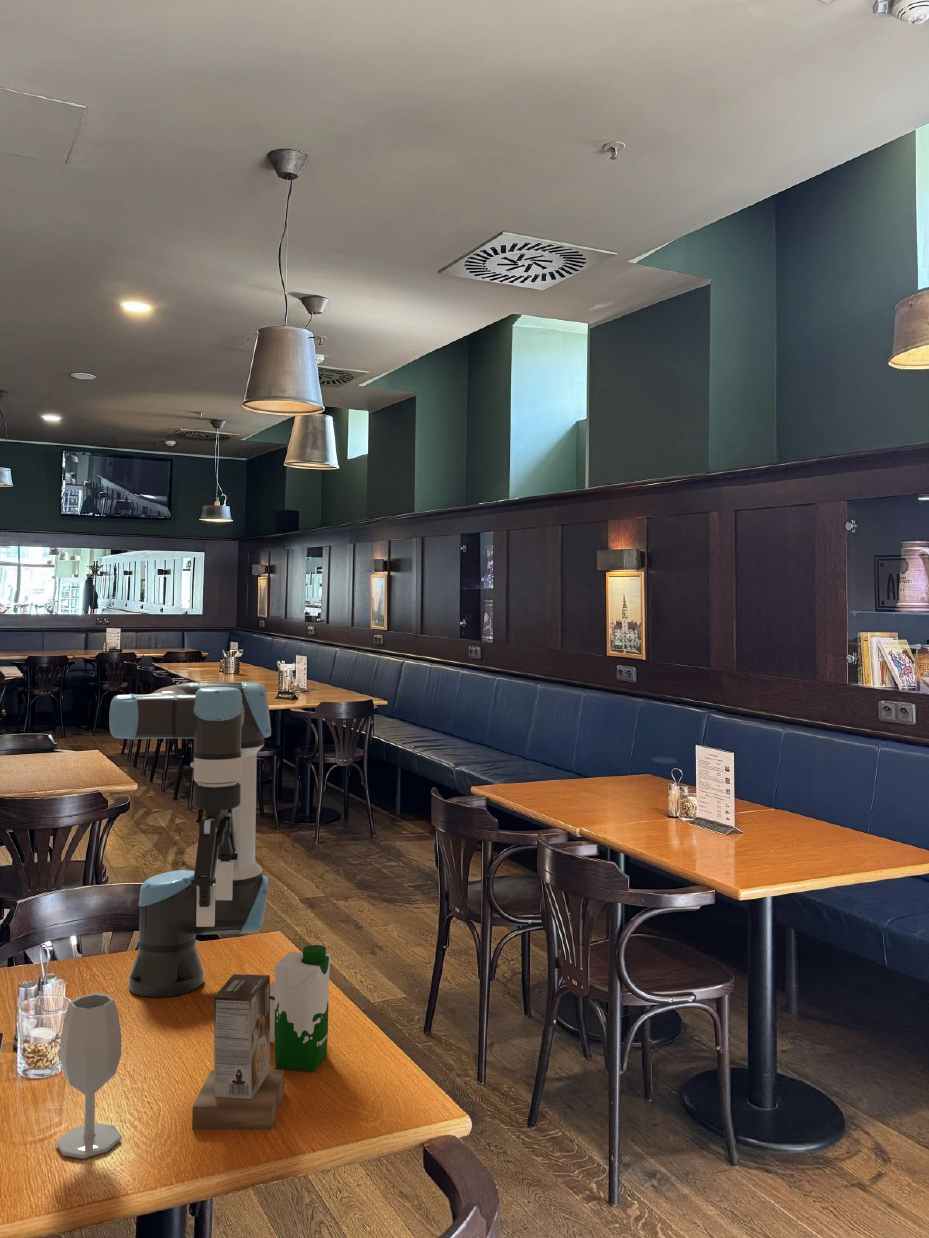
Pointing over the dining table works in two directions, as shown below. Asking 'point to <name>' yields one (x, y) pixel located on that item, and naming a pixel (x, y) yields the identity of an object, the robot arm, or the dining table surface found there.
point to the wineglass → (90, 1068)
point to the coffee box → (241, 1036)
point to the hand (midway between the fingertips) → (215, 912)
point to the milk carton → (301, 1009)
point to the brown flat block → (239, 1106)
